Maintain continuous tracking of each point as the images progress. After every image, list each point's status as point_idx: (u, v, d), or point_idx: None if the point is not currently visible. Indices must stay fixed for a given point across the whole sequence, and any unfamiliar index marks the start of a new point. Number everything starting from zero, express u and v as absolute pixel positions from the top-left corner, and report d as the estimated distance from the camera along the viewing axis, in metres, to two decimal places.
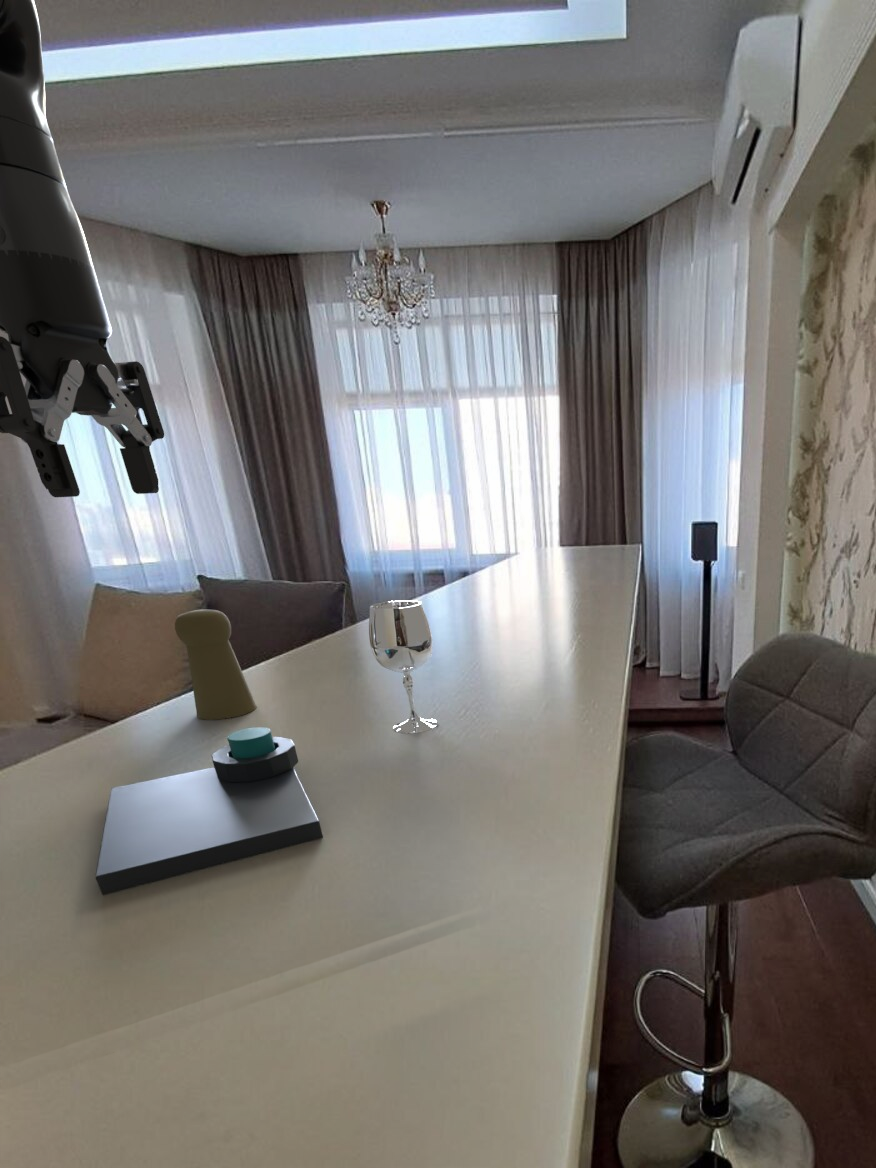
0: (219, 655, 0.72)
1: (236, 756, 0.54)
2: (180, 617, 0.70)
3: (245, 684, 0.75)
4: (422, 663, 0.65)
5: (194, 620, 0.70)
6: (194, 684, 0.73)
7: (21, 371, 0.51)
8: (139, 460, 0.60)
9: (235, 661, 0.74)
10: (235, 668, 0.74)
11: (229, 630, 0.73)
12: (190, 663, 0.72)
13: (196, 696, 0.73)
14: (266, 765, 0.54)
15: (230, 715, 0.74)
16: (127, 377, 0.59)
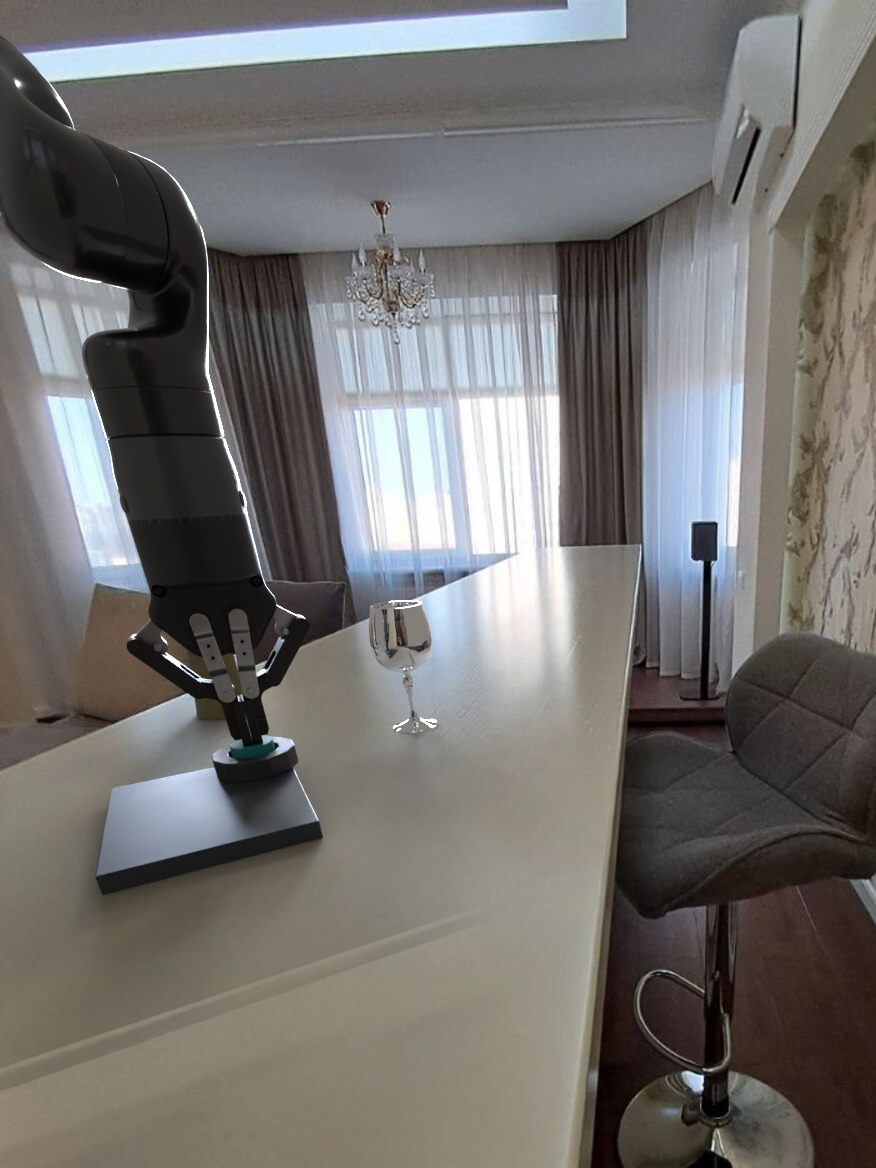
0: None
1: None
2: None
3: None
4: (422, 662, 0.65)
5: None
6: None
7: None
8: (245, 712, 0.54)
9: None
10: (235, 668, 0.74)
11: None
12: (190, 663, 0.72)
13: None
14: (266, 765, 0.54)
15: None
16: (287, 625, 0.53)
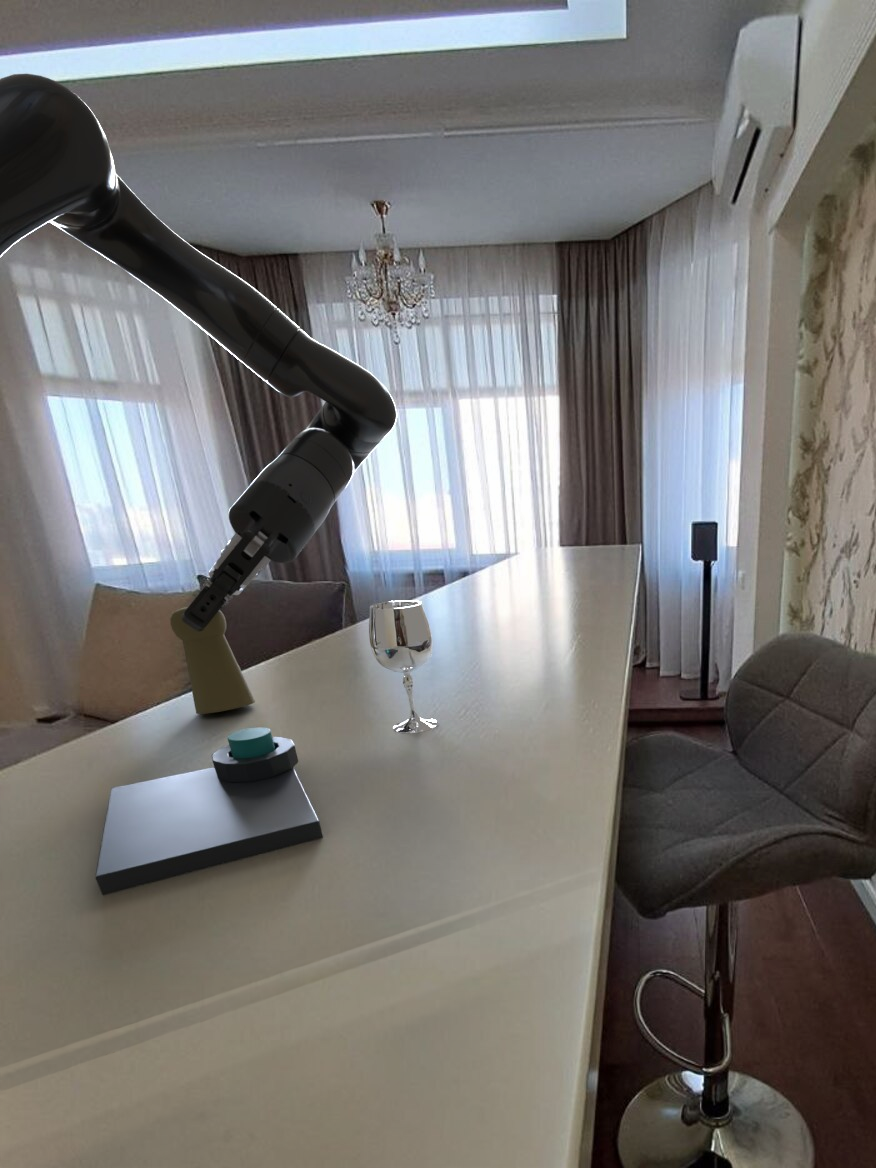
0: (214, 648, 0.72)
1: (236, 756, 0.54)
2: (175, 612, 0.71)
3: (242, 678, 0.75)
4: (422, 662, 0.65)
5: None
6: (192, 679, 0.73)
7: None
8: None
9: (231, 655, 0.74)
10: (231, 661, 0.74)
11: (224, 623, 0.73)
12: (186, 658, 0.73)
13: (194, 691, 0.73)
14: (266, 765, 0.54)
15: (228, 707, 0.73)
16: None
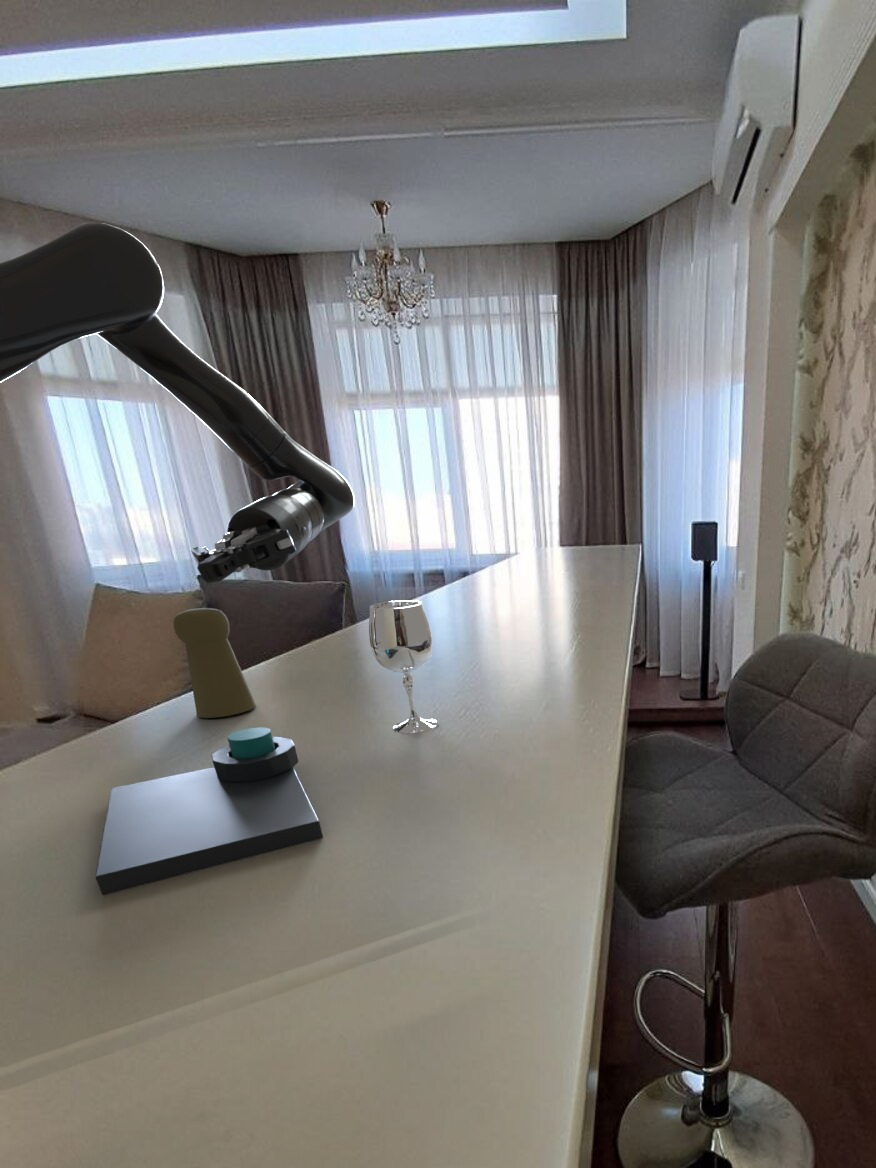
0: (217, 653, 0.72)
1: (236, 756, 0.54)
2: (178, 615, 0.70)
3: (244, 682, 0.75)
4: (422, 662, 0.65)
5: (192, 618, 0.70)
6: (193, 682, 0.73)
7: None
8: None
9: (234, 659, 0.74)
10: (234, 666, 0.74)
11: (227, 628, 0.73)
12: (189, 661, 0.72)
13: (195, 694, 0.73)
14: (266, 765, 0.54)
15: (229, 713, 0.74)
16: None
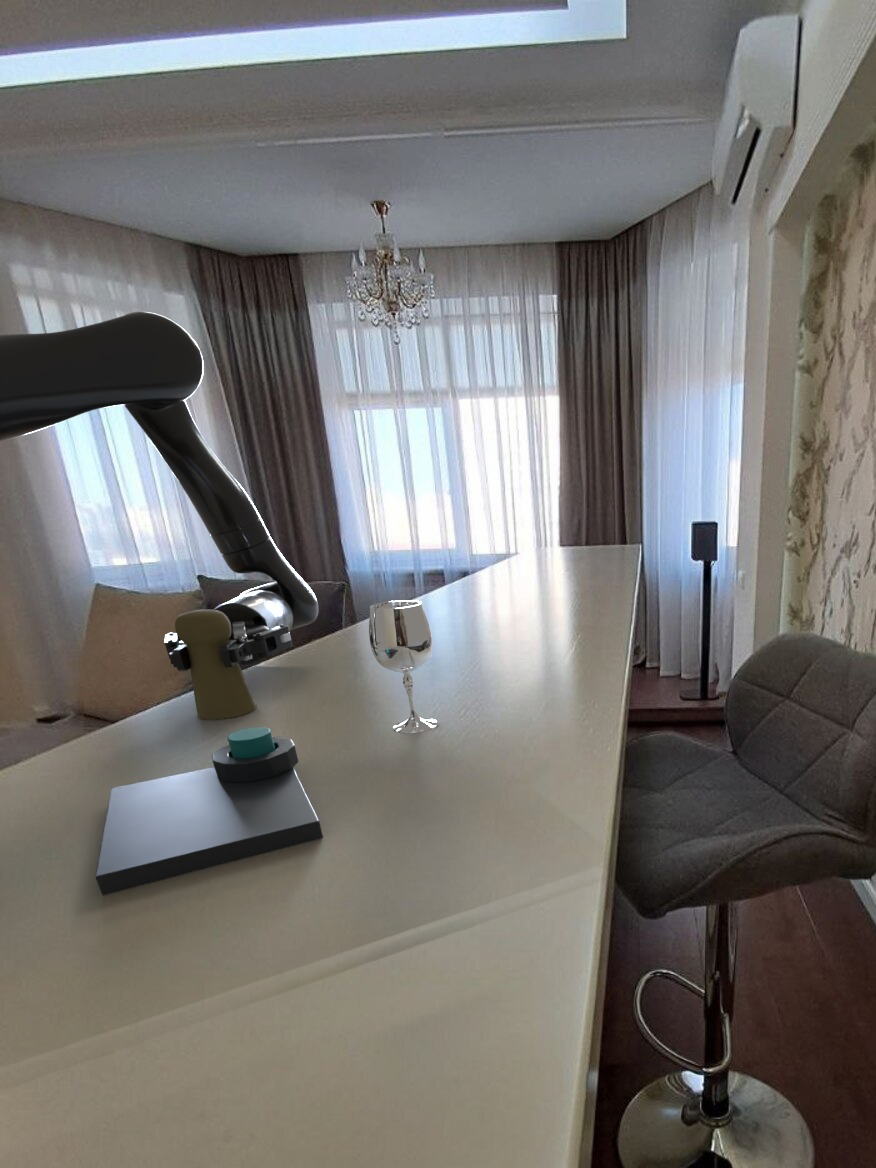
0: (219, 655, 0.72)
1: (236, 756, 0.54)
2: (180, 617, 0.70)
3: (245, 684, 0.75)
4: (422, 662, 0.65)
5: (194, 620, 0.70)
6: (195, 684, 0.73)
7: None
8: None
9: None
10: (235, 668, 0.74)
11: (229, 630, 0.73)
12: (190, 663, 0.72)
13: (196, 696, 0.73)
14: (266, 765, 0.54)
15: (230, 715, 0.74)
16: None
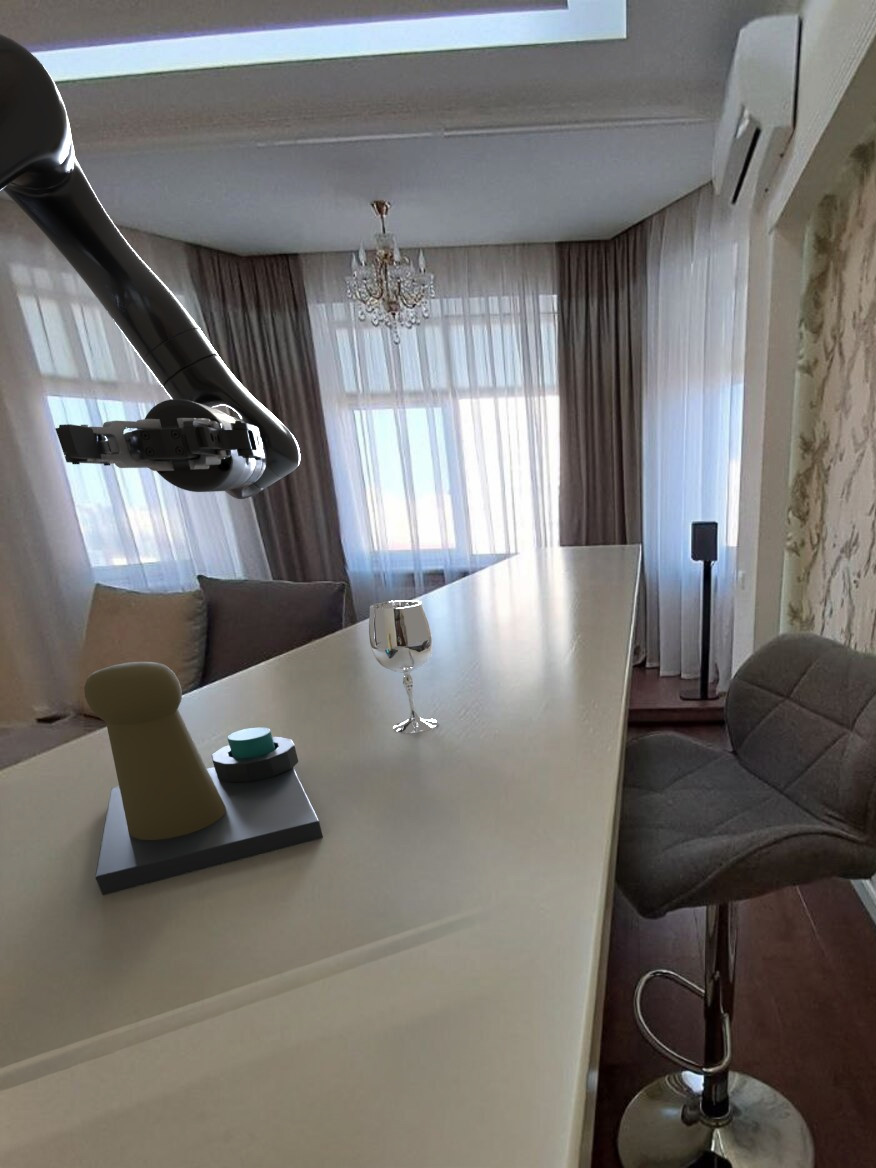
0: (160, 738, 0.44)
1: (236, 756, 0.54)
2: (92, 678, 0.42)
3: (206, 778, 0.47)
4: (422, 662, 0.65)
5: (115, 684, 0.41)
6: (121, 784, 0.44)
7: None
8: (93, 450, 0.53)
9: (189, 744, 0.46)
10: (189, 755, 0.46)
11: (177, 695, 0.44)
12: (113, 750, 0.44)
13: (125, 802, 0.45)
14: (266, 765, 0.54)
15: (181, 832, 0.46)
16: None
